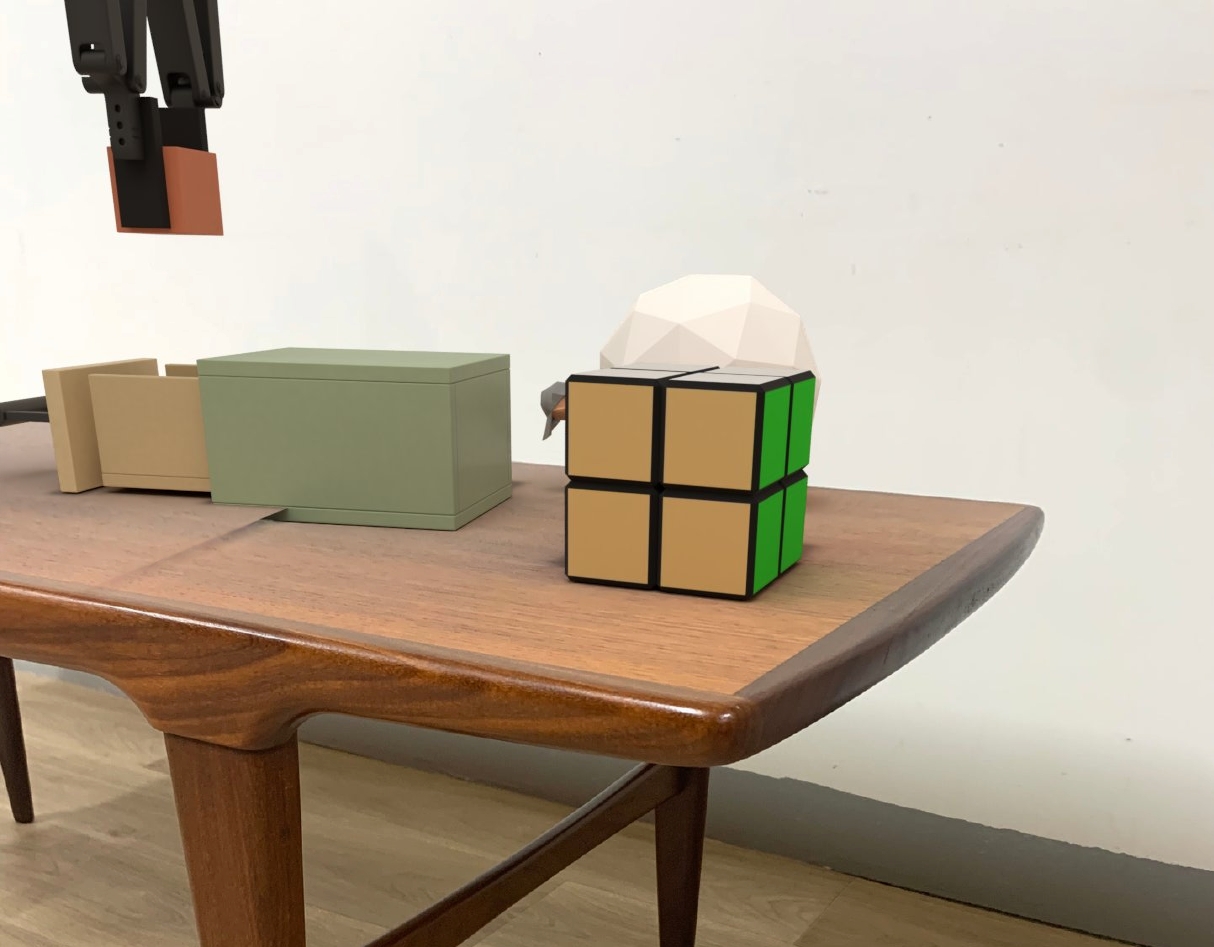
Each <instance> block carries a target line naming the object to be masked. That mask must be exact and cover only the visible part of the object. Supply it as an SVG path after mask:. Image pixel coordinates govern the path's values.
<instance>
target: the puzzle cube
mask: <svg viewBox="0 0 1214 947" xmlns="http://www.w3.org/2000/svg"><path fill="white" fill-rule="evenodd" d="M564 382H565V420H564V474H565V476H566V477H567V478H568V479H569V480H570V481H569V482H568V483H566V485H565V486H564V575H565V576H566V577H567V579H568V580H569V581H570V582H578V583H579V582H580V583H588V584H597V585H598V584H599V585H605V586H616V587H625V588H633V589H634V588H635V589H643V590H651V589H653V588H655V587H656V586H657V587H658V588H659V589H660V590H661V592H666V593H676V594H684V595H685V594H686V595H695V596H702V597H703V596H704V597H710V598H711V597H713V598H720V599H721V598H722V599H730V600H740V601H748V600H749V599H751V598H753V596H754V595H756V594H757V593H759V591H761V590H762V589H763V588H764V587H767V585H769V584H770V583H771V582H773V581H774V580H775V579H776V578H778V577H780V575H781V574H783V573H784V572H786V571H787V570H788V569H789V568H790V567H792V566H794V565H795V564H796V563H797V562H798V561H799V560H801V559H802V557H803V547H804V546H803V545H804V536H805V521H806V507H807V497H808V496H807V494H808V485H809V484H808V483H809V475H808V474H807V473H806V471H805V470H804V469H805V468H806V467H807V466H808V465H810V456H811V445H812V432H813V425H812V420H813V408H814V395H815V382H816V377H815V375H814V374H813V373H812V372H811V370H796V369H775V368H754V367H733V366H729V367H725V368H720V367H719V366H707V365H686V364H665V363H644V362H641V363H635V364H629V365H624V366H618V367H612V368H610V369H609V368H606V369H600V368H599V369H594V370H589V371H583V372H577V373H571V374H570V375H569V376H568V377H567V378H566V379H565V381H564ZM813 421H814V420H813Z"/></svg>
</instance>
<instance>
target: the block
mask: <svg viewBox="0 0 1214 947" xmlns="http://www.w3.org/2000/svg"><path fill="white" fill-rule="evenodd" d="M106 154H107V155H106V156H107V162H108V163H107V164H108V170H109V178H110V180H109V181H110V188H111V195H112V203H113V211H114V220H115V228H116V232H117V233H121V234H122V233H123V234H140V235H143V234H144V235H159V236H161V235H162V236H163V235H166V236H168V235H169V236H215V237H216V236H217V237H224V222H223V212H222V203H221V191H220V181H219V171H218V170H219V169H218V159H217V153H216V152H211V151H209V152H205V151H199V150H193V149H187V148H181V147H163V157H164V166H165V176H166V185H167V195H168V204H169V214H170V223H171V229H165V228H124V227H121V220H120V212H119V203H118V195H117V187H116V178H115V170H114V162H113V154H112V150H111V145H109V146H106Z"/></svg>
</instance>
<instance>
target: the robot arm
mask: <svg viewBox="0 0 1214 947" xmlns="http://www.w3.org/2000/svg"><path fill="white" fill-rule="evenodd" d="M218 2H219V1H218V0H63V3H64V10H65V17H66V24H67V31H68V32H67V33H68V38H69V46H70V54H71V61H72V65H73V68H74V70H75V71H76V73H77V74H78V75H80V76H81V77H80V79H81V83H82V86H83V88H84V90H85V92H86V93H87V94H89V95H103V96H104V103H105V111H106V118H107V127H108V128H109V129H108V135H109V143H110V145H109V146H111V150H112V154H113V162H114V170H115V178H116V187H117V195H118V203H119V212H120V220H121V227H124V228H165V229H171V223H170V214H169V204H168V195H167V185H166V176H165V166H164V157H163V147H181V148H187V149H193V150H199V151H205V152H210V150H209V140H208V130H207V119H206V109H207V110H208V109H211V110H214V109H217V110H218V109H219V110H220V109H221V108H222V106H223V102H224V100H223V99H224V97H225V95H226V94H225V93H226V92H225V91H226V90H225V79H224V65H223V53H222V38H221V30H220V29H221V28H220V16H219V3H218ZM148 28H149V35H150V38H151V43H152V48H153V53H154V58H155V63H156V68H157V72H158V73H157V74H158V78H159V82H160V87H161V93H162V97H163V101H164V104H165V105H166V107H165V106H164V107H163V106H162V107H160V106H159V98H158V97H154V96H141V95H143V94H145V93H146V91H147V88H148V43H147V42H148ZM92 45H93V47H92Z"/></svg>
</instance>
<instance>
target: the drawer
mask: <svg viewBox="0 0 1214 947" xmlns="http://www.w3.org/2000/svg"><path fill="white" fill-rule="evenodd" d="M164 370H165V375H160V372H159V366H158V359H157V358H153V357H137V358H130V359H122V360H114V361H105V362H98V363H97V362H96V363H89V364H80V365H72V366H64V367H55V368H47V369H42V370H41V374H42V375H41V376H42V382H43V389H44V394H45V395H40V396H35V397H28V398H20V399H14V400H7V401H2V402H0V428H2V427H3V428H4V427H9V426H15V425H20V424H25V423H49V426H50V433H51V440H52V444H53V446H52V447H53V452H54V458H55V464H56V468H57V469H56V470H57V471H56V472H57V476H58V477H57V478H58V482H59V483H58V484H59V489H60V490H59V491H60V492H62V493H77V494H78V493H80V492H84V491H88V490H91V489H95V488H98V487H102V486H103V487H110V488H111V487H113V488H130V489H131V488H133V489H147V490H148V489H151V490H166V491H167V490H170V491H171V490H172V491H189V492H208V493H211V487H210V478H209V469H208V460H207V451H206V442H205V433H204V424H203V415H202V406H201V396H200V387H199V378H198V376H199V375H198V371H197V363H196V364H194V363H165V364H164Z"/></svg>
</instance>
